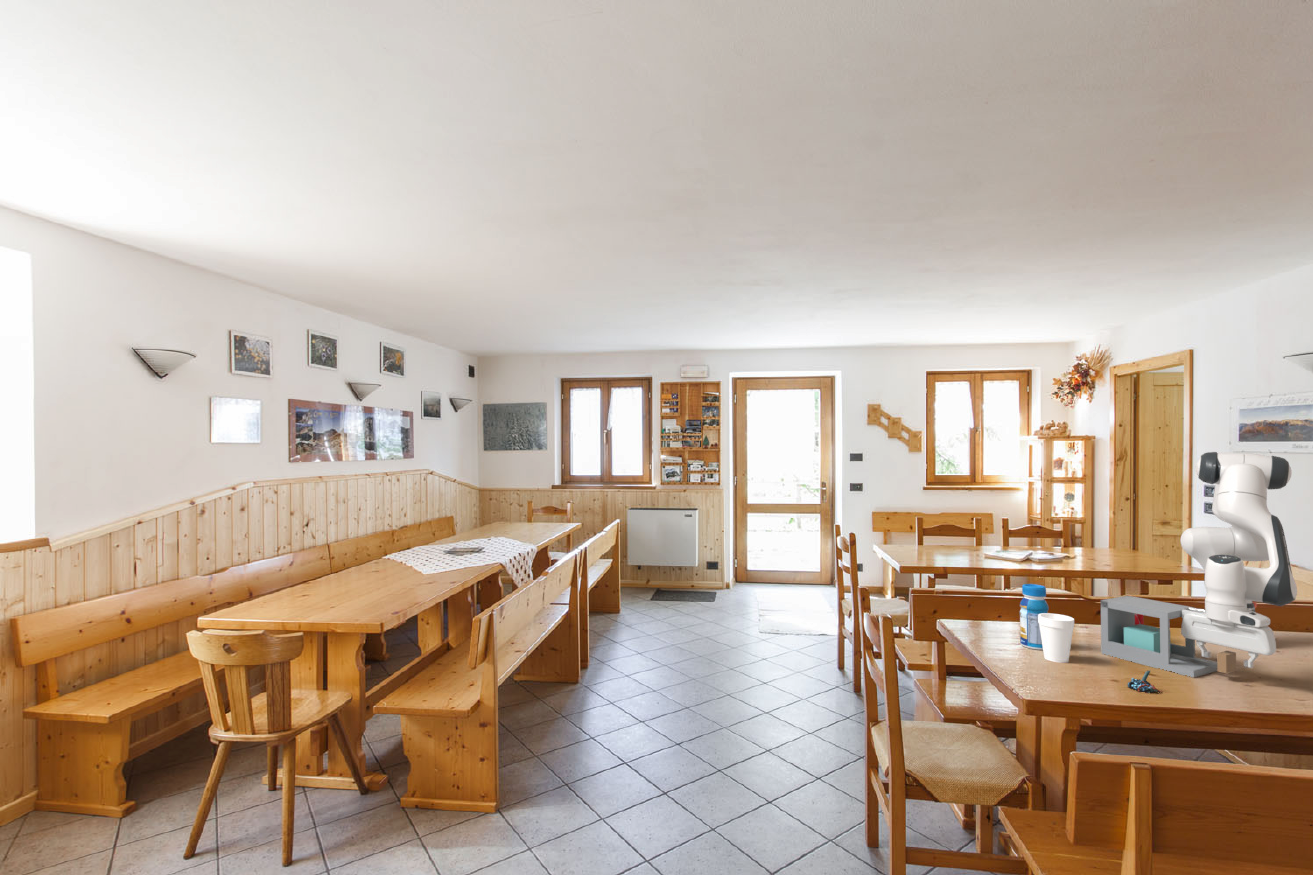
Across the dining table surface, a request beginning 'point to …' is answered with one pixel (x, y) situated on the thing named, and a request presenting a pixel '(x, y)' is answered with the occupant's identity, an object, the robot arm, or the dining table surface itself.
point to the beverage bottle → (1032, 615)
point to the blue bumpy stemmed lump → (1142, 684)
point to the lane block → (1150, 641)
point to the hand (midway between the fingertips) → (1226, 662)
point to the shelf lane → (1123, 615)
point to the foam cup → (1056, 636)
